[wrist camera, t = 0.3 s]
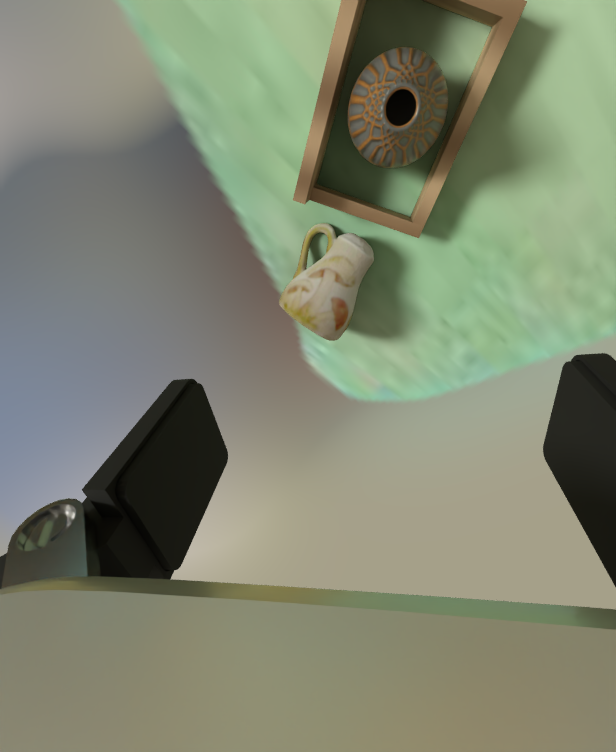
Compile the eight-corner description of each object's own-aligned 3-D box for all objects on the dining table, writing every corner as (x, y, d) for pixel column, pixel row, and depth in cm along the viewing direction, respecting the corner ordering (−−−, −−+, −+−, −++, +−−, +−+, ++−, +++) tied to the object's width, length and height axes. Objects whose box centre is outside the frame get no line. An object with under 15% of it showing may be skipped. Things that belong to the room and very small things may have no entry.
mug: (397, 245, 34) (384, 331, 30) (335, 289, 42) (318, 363, 38) (336, 197, 31) (312, 285, 27) (282, 255, 39) (256, 331, 35)
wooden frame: (363, -45, 24) (361, -83, 20) (514, 12, 25) (542, -12, 20) (302, 192, 33) (292, 200, 29) (415, 231, 33) (422, 245, 29)
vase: (421, 172, 31) (436, 183, 23) (342, 156, 31) (332, 162, 23) (453, 67, 27) (483, 41, 19) (362, 49, 27) (358, 17, 20)
